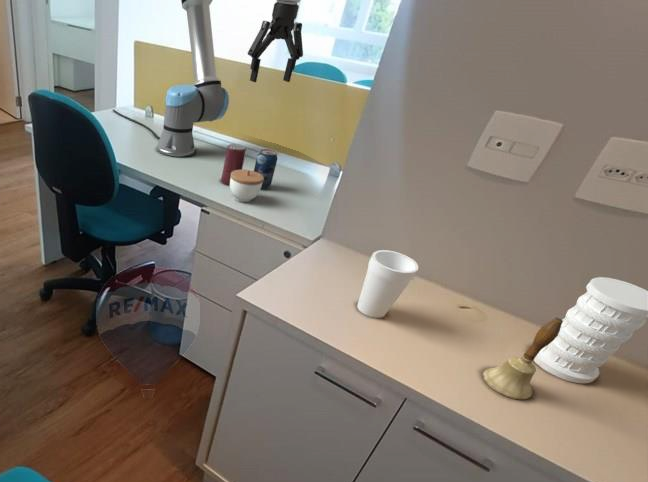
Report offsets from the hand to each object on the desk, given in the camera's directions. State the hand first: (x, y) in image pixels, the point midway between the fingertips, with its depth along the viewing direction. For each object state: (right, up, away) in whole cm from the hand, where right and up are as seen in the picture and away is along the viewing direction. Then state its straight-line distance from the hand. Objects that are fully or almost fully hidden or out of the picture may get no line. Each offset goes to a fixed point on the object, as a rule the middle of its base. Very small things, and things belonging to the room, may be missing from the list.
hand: (269, 81), depth 149 cm
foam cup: (+11, -79, -45) cm, 92 cm away
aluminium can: (-11, -30, +10) cm, 34 cm away
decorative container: (+46, -91, -56) cm, 116 cm away
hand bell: (+30, -95, -62) cm, 117 cm away
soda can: (-1, -32, +9) cm, 34 cm away
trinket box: (-9, -39, 0) cm, 41 cm away
